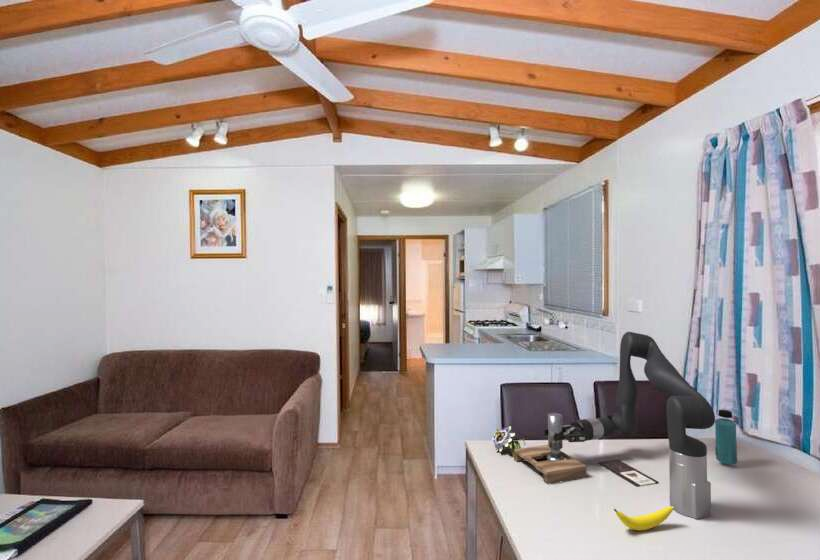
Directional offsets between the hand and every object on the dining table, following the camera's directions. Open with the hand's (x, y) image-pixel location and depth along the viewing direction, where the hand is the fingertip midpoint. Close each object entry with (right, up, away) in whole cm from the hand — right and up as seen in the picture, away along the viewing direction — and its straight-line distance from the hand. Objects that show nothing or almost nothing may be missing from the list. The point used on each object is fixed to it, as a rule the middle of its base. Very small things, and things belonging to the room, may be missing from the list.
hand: (549, 434), depth 149 cm
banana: (+13, -12, -37) cm, 41 cm away
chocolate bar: (+26, -12, -4) cm, 29 cm away
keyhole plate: (0, -12, -1) cm, 12 cm away
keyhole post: (+3, -10, +1) cm, 10 cm away
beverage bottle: (+66, -12, +2) cm, 67 cm away
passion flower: (-12, -12, +15) cm, 23 cm away
